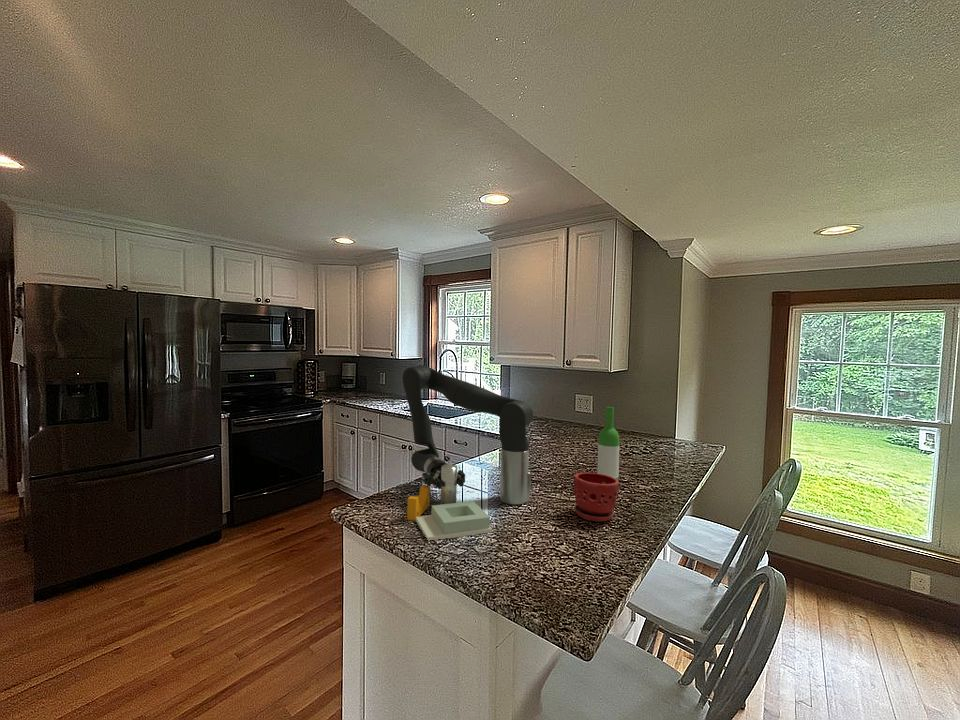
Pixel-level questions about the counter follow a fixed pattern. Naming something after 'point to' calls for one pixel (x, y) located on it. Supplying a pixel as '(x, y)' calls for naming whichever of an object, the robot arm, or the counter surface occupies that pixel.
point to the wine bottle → (608, 447)
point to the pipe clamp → (418, 503)
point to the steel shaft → (448, 484)
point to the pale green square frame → (454, 521)
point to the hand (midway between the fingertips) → (451, 484)
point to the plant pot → (595, 496)
